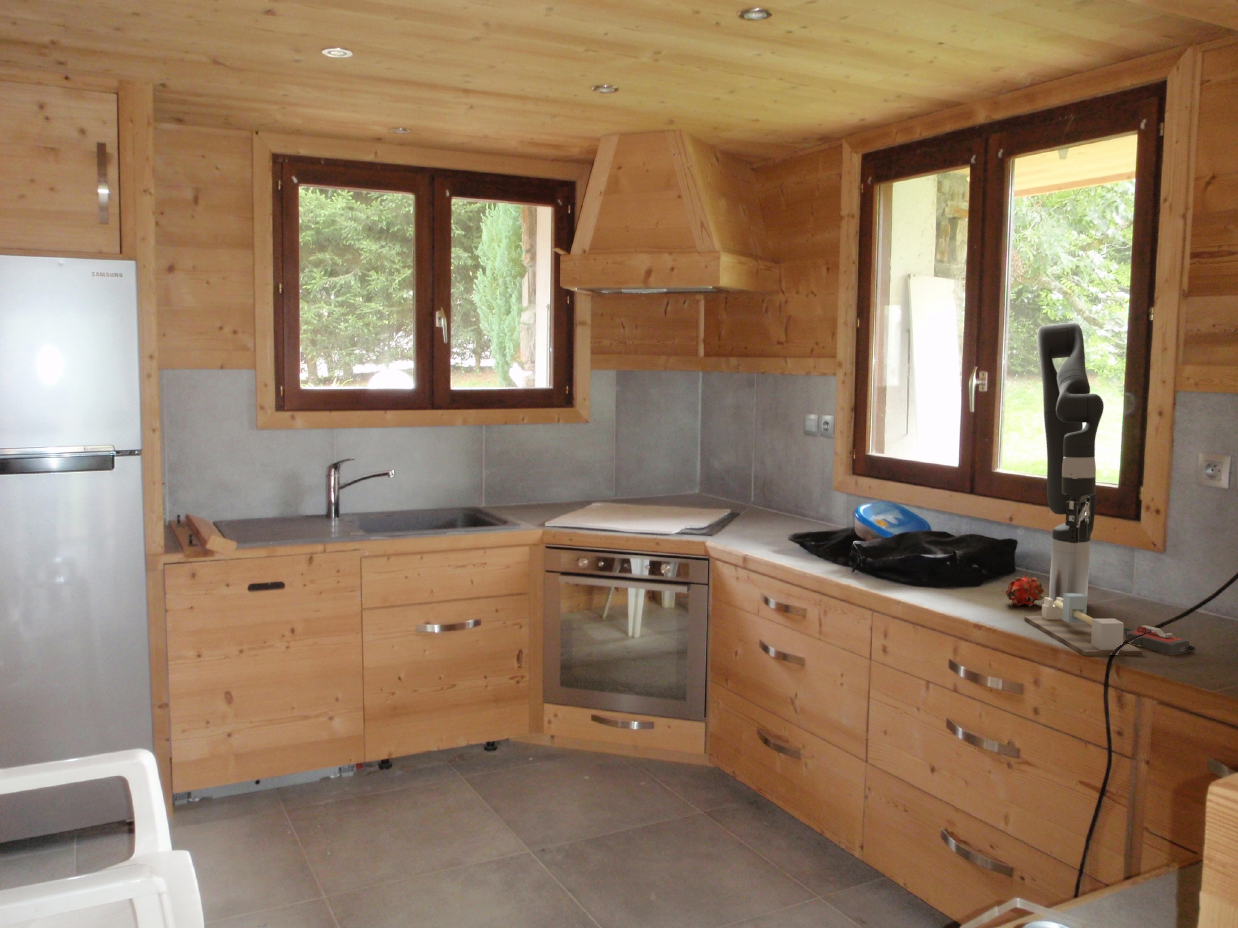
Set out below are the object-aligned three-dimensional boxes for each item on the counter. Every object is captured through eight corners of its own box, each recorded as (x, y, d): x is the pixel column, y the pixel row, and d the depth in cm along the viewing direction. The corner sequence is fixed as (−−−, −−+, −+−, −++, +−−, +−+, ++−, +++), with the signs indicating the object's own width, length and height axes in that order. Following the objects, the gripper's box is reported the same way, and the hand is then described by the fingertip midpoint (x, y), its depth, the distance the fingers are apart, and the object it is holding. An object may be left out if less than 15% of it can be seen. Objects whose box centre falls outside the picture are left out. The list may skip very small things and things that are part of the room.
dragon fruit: (1042, 608, 266) (1011, 620, 261) (1020, 585, 271) (989, 596, 266) (1057, 587, 260) (1026, 599, 255) (1034, 564, 266) (1003, 575, 260)
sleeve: (1062, 619, 237) (1063, 593, 237) (1079, 619, 238) (1080, 593, 237) (1068, 622, 235) (1069, 596, 234) (1085, 622, 235) (1087, 596, 234)
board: (1024, 620, 248) (1024, 616, 248) (1075, 619, 249) (1075, 615, 248) (1084, 655, 218) (1084, 651, 218) (1142, 655, 219) (1142, 650, 219)
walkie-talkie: (1201, 653, 222) (1121, 631, 239) (1202, 634, 221) (1122, 613, 239) (1176, 658, 218) (1096, 636, 236) (1177, 639, 217) (1097, 617, 235)
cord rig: (1041, 616, 247) (1042, 593, 247) (1061, 616, 247) (1062, 593, 247) (1100, 649, 219) (1101, 623, 219) (1122, 649, 219) (1124, 623, 219)
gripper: (1069, 472, 252) (1069, 536, 253) (1054, 476, 240) (1054, 543, 241) (1101, 473, 247) (1101, 538, 248) (1088, 477, 236) (1087, 545, 237)
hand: (1078, 540), depth 245 cm, fingers open, 8 cm apart
